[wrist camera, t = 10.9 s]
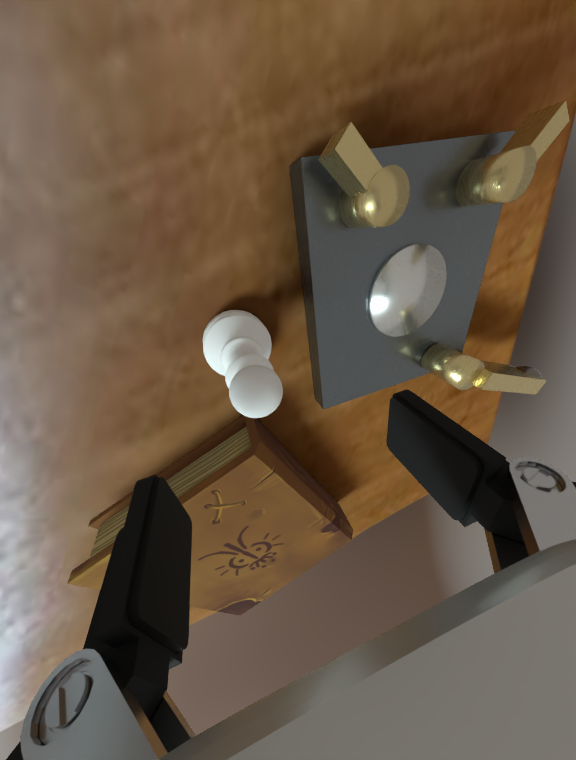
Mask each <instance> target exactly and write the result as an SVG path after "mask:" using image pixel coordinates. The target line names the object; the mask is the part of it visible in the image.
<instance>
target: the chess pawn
mask: <svg viewBox="0 0 576 760" xmlns="http://www.w3.org/2000/svg"><path fill="white" fill-rule="evenodd" d="M271 347H272V342H271V337H270V334H269V332H268V330H267V328H266V327H265V326H264V325H263V323H262V322H261V321H260V320H259V319H258V318H257V317H256V316H254V315H252V314H251V313H249V312H246V311H242V310H229V311H225V312H222V313H220V314H219V315H217V316H215V317H214V318H213V319H212V320H211V321H210V322H209V323H208V325H207V327H206V329H205V331H204V335H203V351H204V355H205V358H206V361H207V362H208V364H209V365H210V366H211V368H212V369H214V370H215V371H216V372H218V373H219V374H221V375H224V376H225V379H226V384H227V386H228V388H229V397H230V400H231V403H232V405H233V406H234V407H235V409H236V410H237V411H238V412H239V413H241V414H242V415H244V416H247V417H250V418H262V417H265V416H267V415H269V414H271V413H272V412H273V411H275V410H276V409H277V407H278V406H279V404H280V402H281V400H282V395H283V388H282V383H281V381H280V379H279V377H278V375H277V374H276V373H275V372H274V370H273V366H272V365H271V363H270V362H269V361H268V359H269V356H270V353H271Z"/></svg>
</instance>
